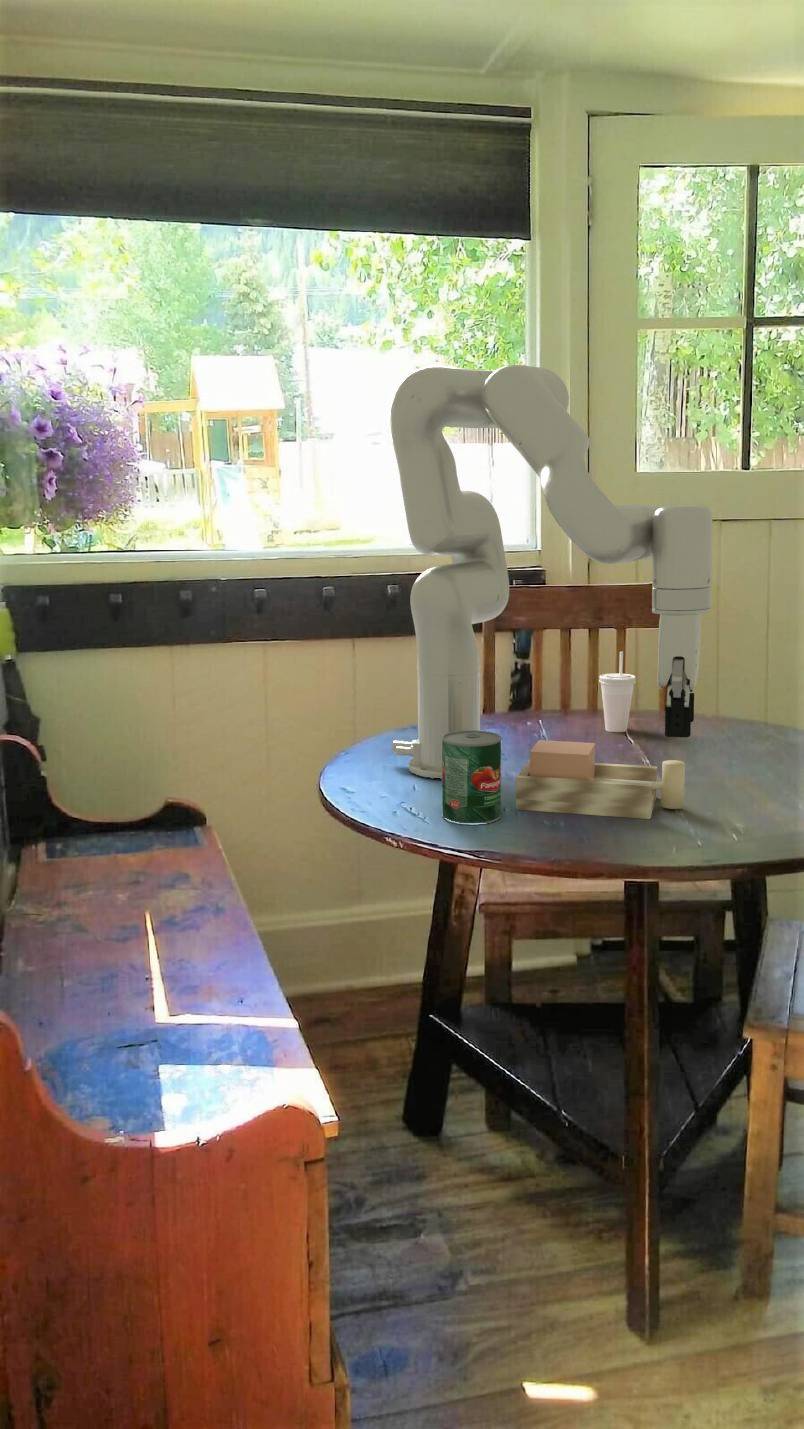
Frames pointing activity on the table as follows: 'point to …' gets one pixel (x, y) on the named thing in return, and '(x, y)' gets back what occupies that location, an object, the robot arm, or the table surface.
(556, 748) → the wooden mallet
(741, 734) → the table surface
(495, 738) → the canned tomato
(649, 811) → the wooden tray
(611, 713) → the smoothie
